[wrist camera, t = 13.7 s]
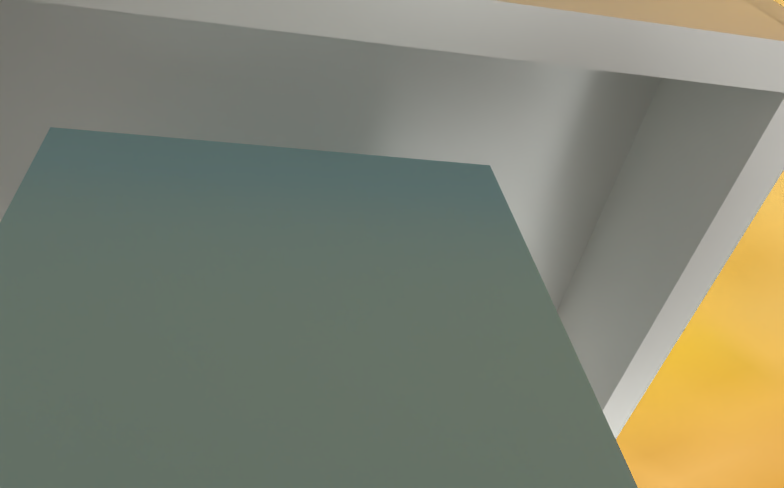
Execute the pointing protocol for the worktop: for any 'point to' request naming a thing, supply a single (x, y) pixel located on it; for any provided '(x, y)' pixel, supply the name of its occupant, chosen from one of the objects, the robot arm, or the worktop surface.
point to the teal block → (280, 326)
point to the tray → (460, 123)
